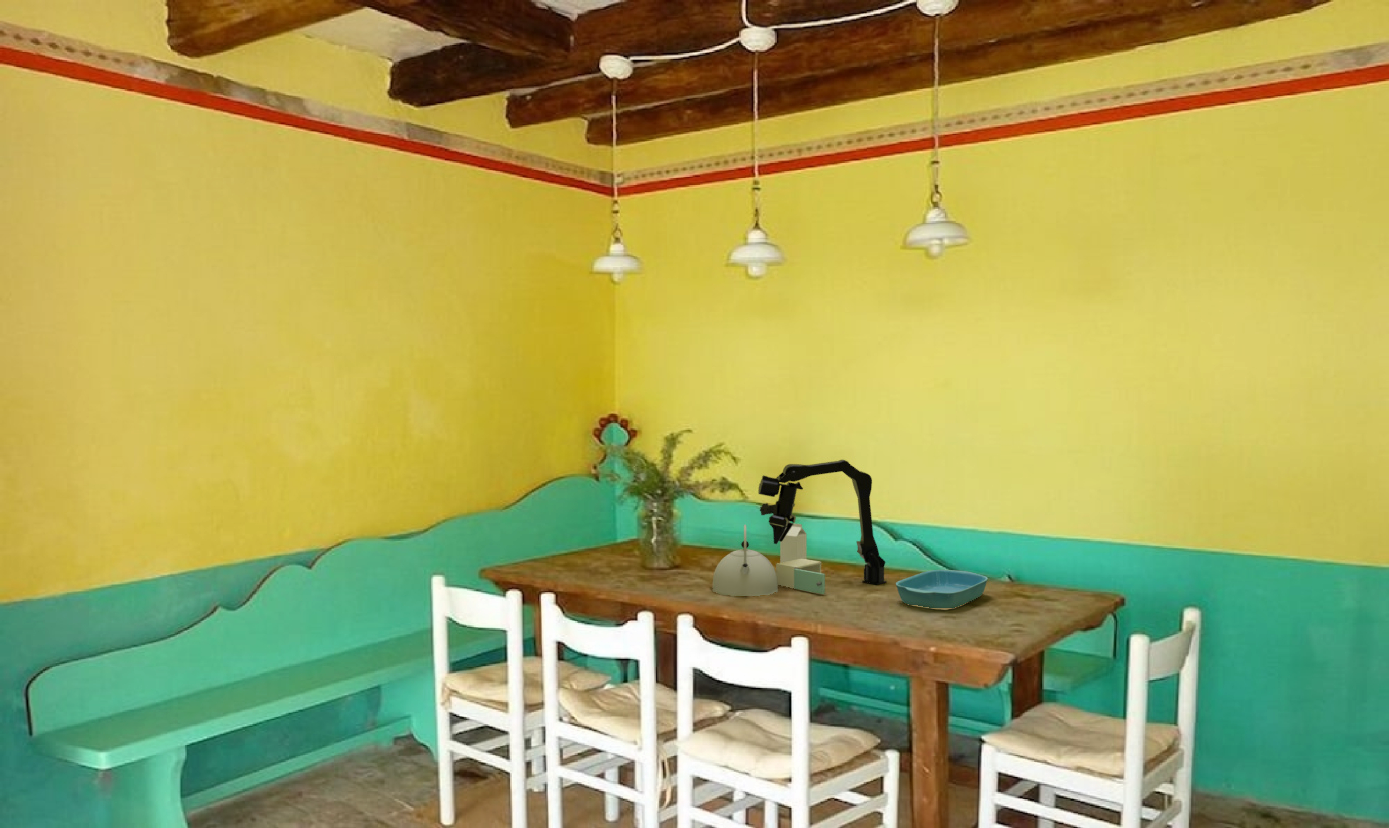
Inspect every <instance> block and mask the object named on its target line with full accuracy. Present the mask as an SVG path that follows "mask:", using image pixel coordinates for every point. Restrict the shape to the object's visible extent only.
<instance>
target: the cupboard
mask: <svg viewBox="0 0 1389 828" xmlns="http://www.w3.org/2000/svg"><path fill="white" fill-rule="evenodd" d="M794 569H800V570H806V571H811V572H817V573H822V561H818V560H812V559H808V558H806V559H797V560H792V561H787V562H782V563H780V562H778V563H775V571H776V575H777V581H778V585H781V586H780V587H783V586H786V587H785V588H788V587H790V589H793V588H794Z"/></svg>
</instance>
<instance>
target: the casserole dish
mask: <svg viewBox="0 0 1389 828" xmlns="http://www.w3.org/2000/svg"><path fill="white" fill-rule="evenodd" d="M988 580H989V579H988V577H987V576H985V575H982V574H979V573H975V572H971V571H964V570H954V569H950V570H949V569H932V570H926V571H923V572H921V573H917V574H915V575H912V576H909V577H906V578H904V579H901V580H898V581H896V582H895V585H896V588H897V591H898V595H899V597H900V599H901V602H903V603H904V604H905V603H906V604H909V605H918V606H923V607H929V608H955V607H958V606H960V605H963V604H965V603H967V602H969V601H971V602H973V601H975V600H977V599H978V597H979V598H980V597H981V596H982V595H983V593H984V591H985V589H986V586H987V583H988ZM976 598H977V599H976ZM974 599H975V600H974ZM972 600H973V601H972ZM969 603H970V602H969ZM906 604H905V605H906ZM967 604H968V603H967ZM909 605H908V606H909ZM965 605H966V604H965ZM963 606H964V605H963ZM960 607H961V606H960ZM958 608H959V607H958ZM955 609H956V608H955Z"/></svg>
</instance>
